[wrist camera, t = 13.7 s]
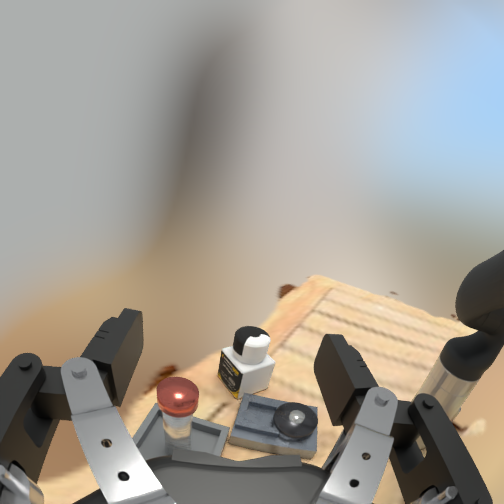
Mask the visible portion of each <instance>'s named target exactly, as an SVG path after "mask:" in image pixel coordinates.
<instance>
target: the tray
mask: <svg viewBox="0 0 504 504" xmlns="http://www.w3.org/2000/svg"><path fill="white" fill-rule="evenodd" d="M229 428H230V427H226V426H223V425H219V424H216V423H212V422H209V421H206V420H202V419H199V418H196V417H193V418H192V434H191V450H192V451H200V452H207V453H210V454H213V455H216V456H220V457H221V454H222V451H223V448H224V445H225V442H226V439H227V436H228V433H229ZM132 440H133V441H134V443H135V445H136V447H137V448H138V450H139V452H140V453H141V455H142V457H143V458H144V460H145V461H146V460H148V459H151V458H155V457H159V456H167V453H166V449H165V439H164V427H163V413H162V410H161V409H160V408H159V406H158V403H155V405H154V406H153V408H152V409H151V411H150V412H149V414H148V415H147V417H146V418H145V420H144V421H143V423H142V424H141V426H140V427H139V429H138V430H137V432H136V433H135V435H134V437H133V438H132Z"/></svg>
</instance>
